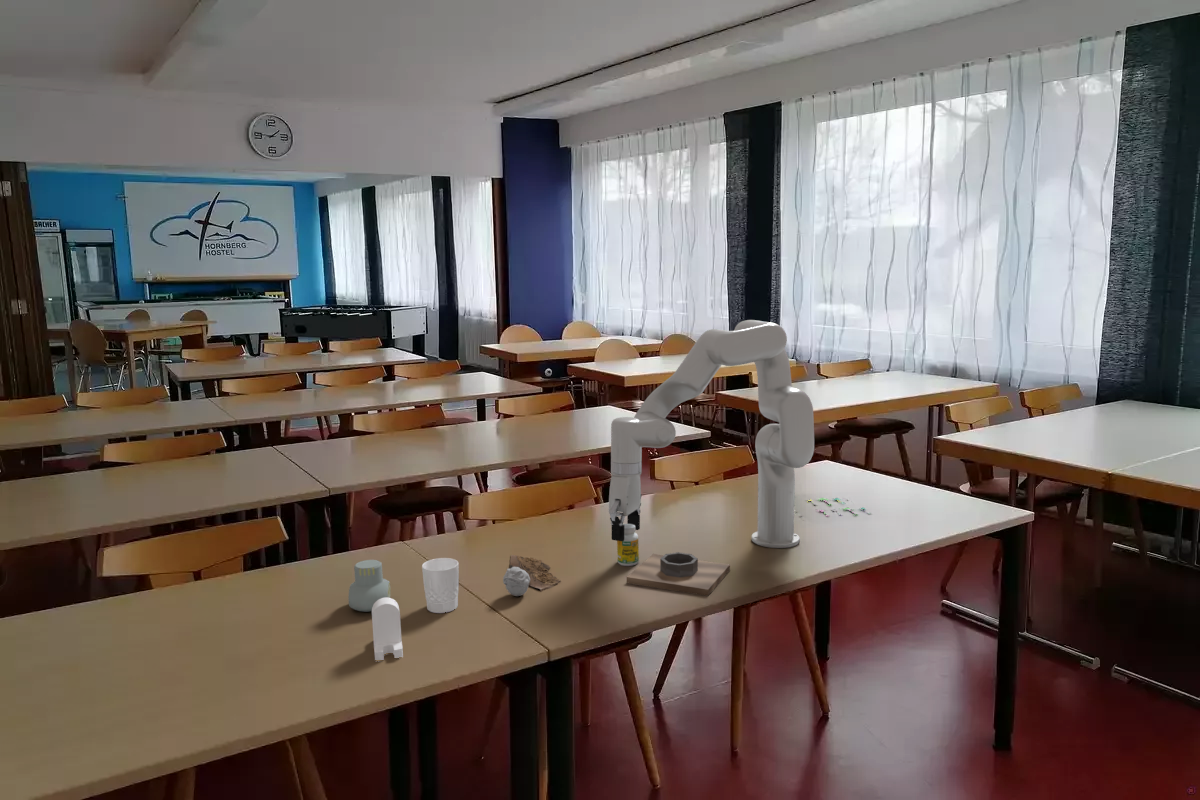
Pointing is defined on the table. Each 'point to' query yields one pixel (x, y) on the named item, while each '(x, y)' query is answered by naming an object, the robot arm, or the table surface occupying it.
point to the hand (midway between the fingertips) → (625, 534)
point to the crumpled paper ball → (516, 581)
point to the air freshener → (368, 585)
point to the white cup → (441, 584)
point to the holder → (679, 573)
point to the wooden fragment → (535, 572)
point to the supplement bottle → (628, 547)
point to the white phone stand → (386, 628)
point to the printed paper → (831, 504)
